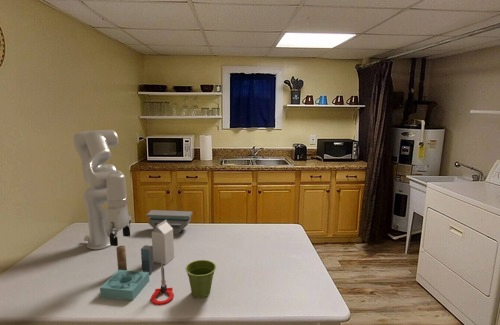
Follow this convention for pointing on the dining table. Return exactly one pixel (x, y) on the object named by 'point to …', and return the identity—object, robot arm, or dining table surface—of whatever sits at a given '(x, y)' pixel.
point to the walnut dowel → (121, 258)
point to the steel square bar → (147, 259)
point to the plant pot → (200, 277)
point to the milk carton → (163, 243)
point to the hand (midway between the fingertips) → (120, 240)
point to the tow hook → (162, 290)
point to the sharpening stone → (170, 219)
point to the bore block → (124, 285)
